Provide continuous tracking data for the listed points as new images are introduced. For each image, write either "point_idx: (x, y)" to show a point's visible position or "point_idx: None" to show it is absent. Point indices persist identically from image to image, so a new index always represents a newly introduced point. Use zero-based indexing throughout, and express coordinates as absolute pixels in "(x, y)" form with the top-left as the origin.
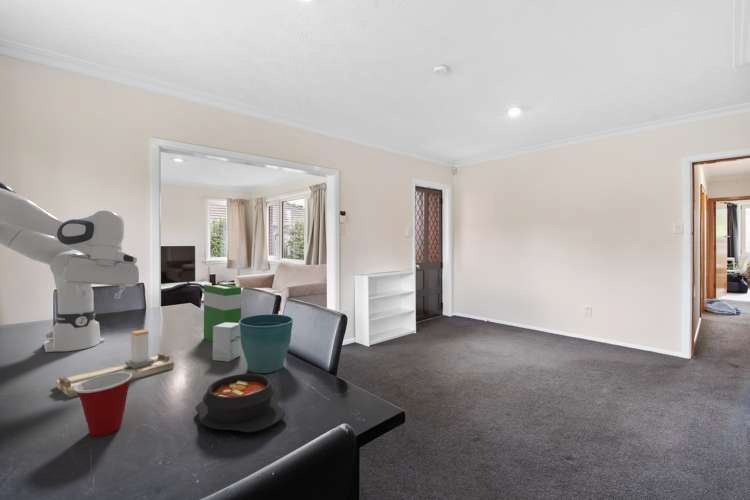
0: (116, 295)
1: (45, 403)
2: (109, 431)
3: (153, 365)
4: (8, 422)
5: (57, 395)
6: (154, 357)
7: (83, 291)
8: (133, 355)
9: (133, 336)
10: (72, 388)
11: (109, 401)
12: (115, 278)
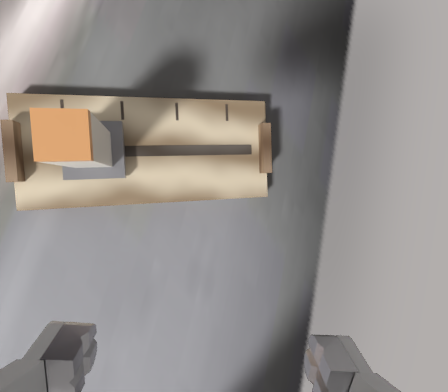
0: (81, 334)
1: (292, 113)
2: None
3: None
4: (342, 74)
5: None
6: (32, 194)
7: (349, 366)
8: (108, 149)
9: (93, 140)
10: (258, 109)
11: None
12: None
